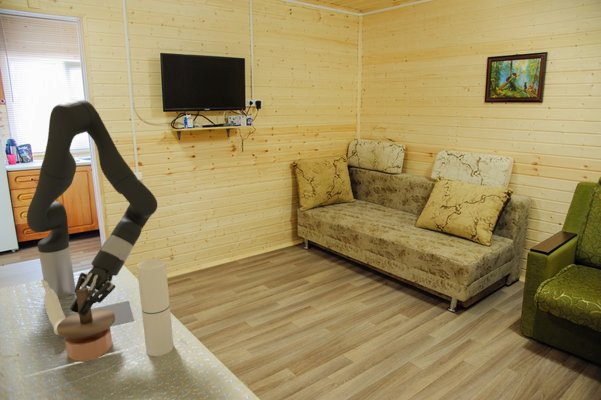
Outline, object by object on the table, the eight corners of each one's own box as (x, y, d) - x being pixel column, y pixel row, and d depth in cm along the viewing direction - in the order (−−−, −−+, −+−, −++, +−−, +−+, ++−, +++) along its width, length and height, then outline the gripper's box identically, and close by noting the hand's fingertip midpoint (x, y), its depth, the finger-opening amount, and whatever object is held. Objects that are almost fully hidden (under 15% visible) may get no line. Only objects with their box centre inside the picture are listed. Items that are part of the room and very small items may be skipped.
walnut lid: (58, 319, 116) (52, 286, 114) (113, 307, 123) (108, 275, 120) (56, 344, 104) (50, 308, 102) (117, 329, 110) (112, 295, 108)
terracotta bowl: (68, 344, 117) (65, 328, 116) (110, 334, 122) (108, 318, 121) (67, 366, 108) (64, 349, 107) (113, 353, 113) (111, 337, 112)
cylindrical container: (148, 359, 110) (138, 271, 104) (144, 345, 117) (135, 261, 111) (175, 351, 114) (167, 265, 108) (170, 338, 120) (163, 256, 114)
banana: (57, 347, 116) (49, 299, 113) (43, 321, 130) (36, 277, 127) (76, 340, 119) (69, 293, 116) (61, 315, 133) (54, 273, 130)
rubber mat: (79, 312, 135) (79, 311, 135) (128, 302, 142) (128, 300, 142) (79, 335, 122) (79, 333, 122) (134, 322, 129) (134, 320, 129)
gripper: (88, 245, 119) (51, 301, 111) (118, 253, 111) (81, 315, 104) (107, 256, 124) (73, 311, 117) (138, 265, 117) (103, 324, 110)
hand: (77, 312), depth 111 cm, fingers closed on walnut lid, 3 cm apart
